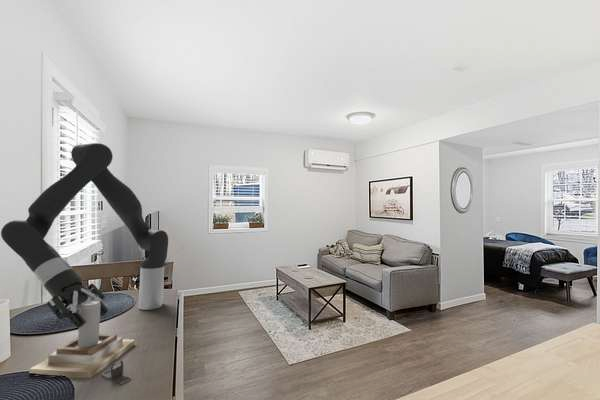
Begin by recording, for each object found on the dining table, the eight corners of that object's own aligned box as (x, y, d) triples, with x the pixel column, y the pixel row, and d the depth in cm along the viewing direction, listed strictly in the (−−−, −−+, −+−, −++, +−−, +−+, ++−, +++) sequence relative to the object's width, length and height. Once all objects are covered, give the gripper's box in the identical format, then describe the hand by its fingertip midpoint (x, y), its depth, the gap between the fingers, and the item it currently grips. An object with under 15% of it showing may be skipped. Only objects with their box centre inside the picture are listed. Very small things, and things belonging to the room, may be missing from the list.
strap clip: (100, 377, 73) (101, 360, 73) (112, 371, 75) (113, 355, 75) (119, 387, 69) (120, 370, 69) (132, 381, 71) (133, 364, 71)
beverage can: (86, 350, 78) (89, 306, 78) (72, 348, 79) (75, 304, 79) (102, 342, 83) (104, 301, 83) (89, 340, 84) (91, 299, 84)
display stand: (85, 341, 90) (86, 326, 90) (134, 344, 89) (135, 329, 89) (29, 374, 72) (30, 356, 72) (90, 378, 71) (91, 359, 71)
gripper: (44, 273, 74) (84, 320, 74) (87, 263, 89) (120, 302, 88) (24, 293, 74) (63, 339, 74) (70, 279, 89) (103, 318, 88)
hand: (94, 319), depth 81 cm, fingers open, 8 cm apart
